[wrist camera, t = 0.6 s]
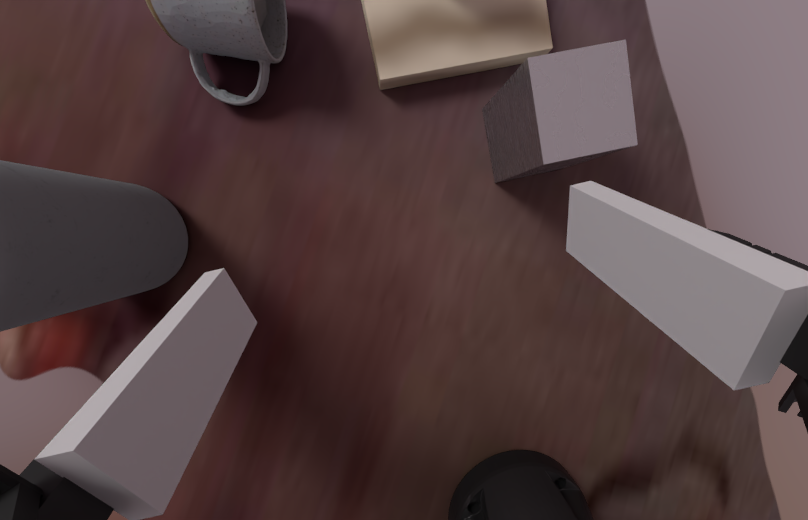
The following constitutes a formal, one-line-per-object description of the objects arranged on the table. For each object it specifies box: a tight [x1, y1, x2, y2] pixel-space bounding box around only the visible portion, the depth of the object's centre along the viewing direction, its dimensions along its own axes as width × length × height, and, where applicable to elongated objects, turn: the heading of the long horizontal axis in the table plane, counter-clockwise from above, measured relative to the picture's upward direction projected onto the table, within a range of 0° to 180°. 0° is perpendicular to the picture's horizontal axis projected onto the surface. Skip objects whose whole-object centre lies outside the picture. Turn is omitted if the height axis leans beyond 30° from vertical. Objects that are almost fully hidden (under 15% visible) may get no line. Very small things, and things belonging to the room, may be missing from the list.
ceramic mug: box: [145, 0, 287, 106], centre depth 24 cm, size 11×8×8 cm
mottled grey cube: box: [482, 40, 638, 183], centre depth 26 cm, size 7×7×9 cm
